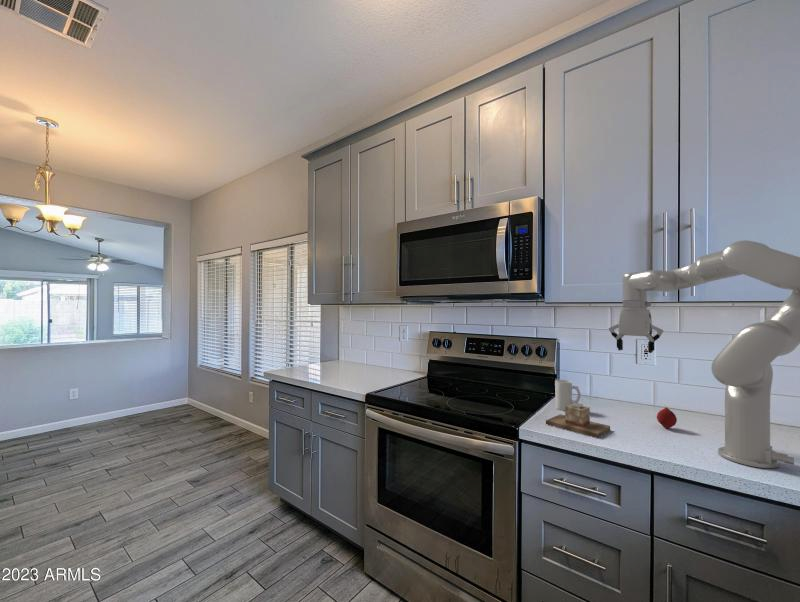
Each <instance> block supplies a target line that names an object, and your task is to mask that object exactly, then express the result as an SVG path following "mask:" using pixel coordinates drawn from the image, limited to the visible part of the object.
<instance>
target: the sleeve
mask: <svg viewBox="0 0 800 602" xmlns="http://www.w3.org/2000/svg"><path fill="white" fill-rule="evenodd" d="M590 411H591V408H590V406H585V405H583V408H582V409H578V408H574V407H571V404H570V405H568V406H566V407H565V411H564V412H565V423H568V424H572V425H576V426H580V427H584V426H586V425H588V424H590V419H591V417H590V414H591V413H590Z"/></svg>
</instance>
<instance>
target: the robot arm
mask: <svg viewBox="0 0 800 602" xmlns="http://www.w3.org/2000/svg"><path fill="white" fill-rule="evenodd" d="M670 270H671V271H670ZM670 270H662V269H661V270H658V269H649V270H646V271H645V270H644V271H641V272H639V271H638V272H626V273H624V274H623V276H622V309H620V312H619V316H618V317H619V319H618V323H617V324H616V325H613V326H611V327H609V328H608V331H609V332H610V333H611V336H612V337H613V338H615V340H616V349H618V351H623V350H624V348H623V347H624V346H623V345H624V339H622V338H623V337H624V336H630V337H646V339H647V340H648V342H647V350H648V351H647V352H648V353H650V354H651V353H653V352H654V351H655V342H656V341H657V340H659V339H660V338H661V336H662V335H663V334H664V329H662V328H660V327H657V326H655V325H653V320H652V313H651V310H650V309H649V308H648V307H652V302H649V301H648V298H647V297H648V292H664V293H666V292H667V293H668V292H674V291H678V290H683V289H688V288H691V287H696V286H699V285H704V284H707V283H709V282H714V281H719V280H721V279H722V280H724V279H727V278H732V277H737V276H741V275H745V276H748V277H750V278H753V279H755V280H758V281H760V282H763V283H765V284H768V285H771V286H773V287H777V288H778V289H784V290H787V291H792V292H791V294H790V295H789V296H788V298H786V299H785V300H784V301H783V302H781V303H780V304H779V305H778V307H777V308H776V309H775V310H774V311H773V312H772V313H771V314H770V315H769V316H768V317H767V318H766V319H765V320H764V321H760V322H755V323H751V324H748V325H746V326H745V327H743V328H741V330H739V332H737V333H736V334H735V336H733V338H732V339H731V340H730V341H729V342H728V343H727V344H726V345H725V347H724V348H722V350H721V351H719V353H718V354H717V356H715V357H714V359H713V360H712V363H711V367H710V368H711V373H712V375H713V377H714V378H715V380H716V381H718V382H719V383H721V384H722V385H725V389H724V391H725V392H724V446H720V447H718V449H717V452H718V455H720V456H721V457H723V458H724V459H727V460H729V461H731V462H735V463H738V464H741V465H745V466H747V467H748V466H749V467H753V468H761V469H775V468H778V467H779V462H782V463H785V464H788V465H793V466H794V465H795V456H794V457H793V456H789V454H786V453H780V452H777V451H776V450H773V446H772V445H771V394H772V393H771V392H772V385H773V384H772V383H773V376H774V375H773V374H774V372H773V366H772V365H771V363H773V361H774V360H776V358H778V357H780V356H786V355H788V354H790V353H792V352H793V351H794V350H796V348H797V347H798V346H799V345H800V256H797V255H794V254H790V253H787V252H783V251H781V250H778V249H774V248H771V247H769V246H768V245H767V244H765V243H762V242H758V241H754V240H746V239H745V240H739V241H735V242H733V243H730V244H729V245H727V246H726V247H725V248H724V249H723V250H720V251H716V252H712V253H709V254H704V255H701V256H699V257H697V258H696V259H695V262H693V263H692V264H690V265H686V266H682V267H679V268H676V269H670ZM616 329H618V333H616V331H615V330H616ZM653 331H655V332H656V334H655V335H654V336H653Z"/></svg>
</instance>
